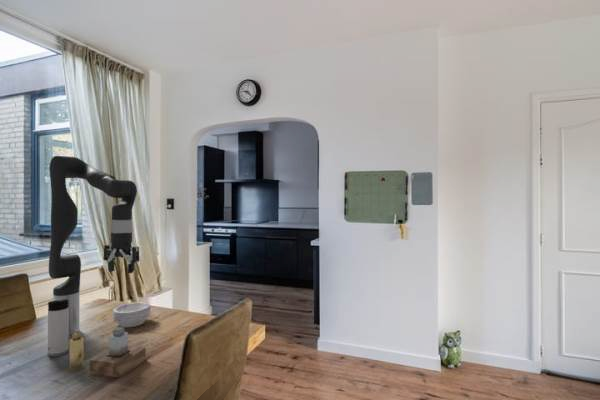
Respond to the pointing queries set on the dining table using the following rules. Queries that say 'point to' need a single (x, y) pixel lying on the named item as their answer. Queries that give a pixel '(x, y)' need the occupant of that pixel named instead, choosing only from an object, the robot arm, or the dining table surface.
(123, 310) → the white patterned bowl
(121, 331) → the square bit
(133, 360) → the socket block
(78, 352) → the round bit
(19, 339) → the dining table surface
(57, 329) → the travel mug
